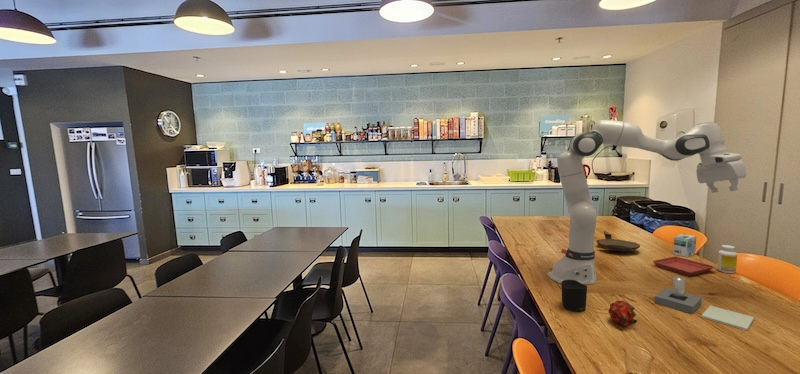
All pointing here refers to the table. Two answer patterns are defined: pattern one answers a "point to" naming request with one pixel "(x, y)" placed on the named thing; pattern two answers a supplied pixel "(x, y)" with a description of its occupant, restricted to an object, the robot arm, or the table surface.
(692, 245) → the light bulb box
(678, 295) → the peg
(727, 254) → the supplement bottle
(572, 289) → the pen holder
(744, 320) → the pad
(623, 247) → the frying pan
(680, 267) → the plant saucer
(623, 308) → the dragon fruit
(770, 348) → the table surface
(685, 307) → the square socket
